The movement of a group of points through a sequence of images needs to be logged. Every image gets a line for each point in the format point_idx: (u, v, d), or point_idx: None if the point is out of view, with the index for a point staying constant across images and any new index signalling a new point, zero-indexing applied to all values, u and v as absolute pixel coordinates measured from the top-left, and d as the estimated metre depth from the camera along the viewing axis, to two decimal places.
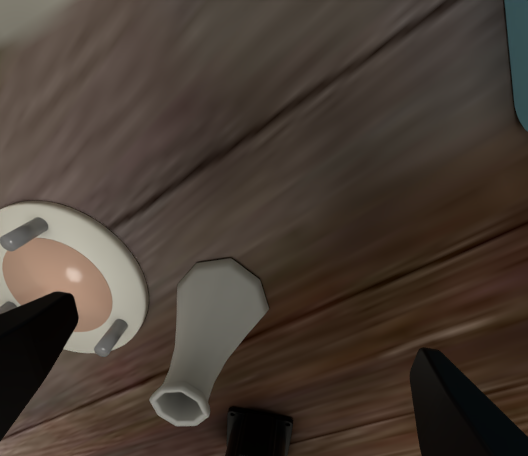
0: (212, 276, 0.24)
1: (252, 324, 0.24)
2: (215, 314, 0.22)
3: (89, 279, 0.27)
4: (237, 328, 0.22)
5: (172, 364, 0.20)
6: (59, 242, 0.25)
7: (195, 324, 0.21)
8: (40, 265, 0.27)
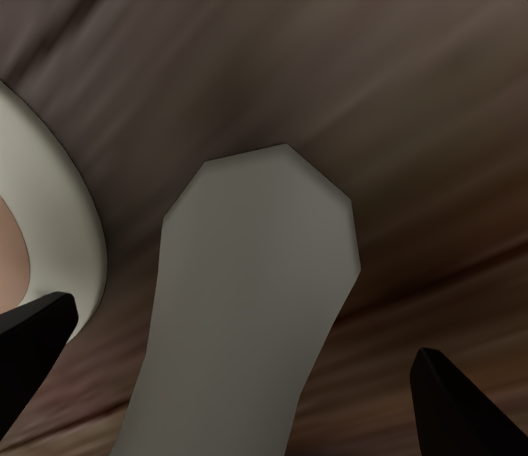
0: (245, 179, 0.10)
1: (341, 298, 0.10)
2: (264, 261, 0.08)
3: None
4: (318, 303, 0.08)
5: (129, 417, 0.06)
6: None
7: (208, 286, 0.07)
8: None
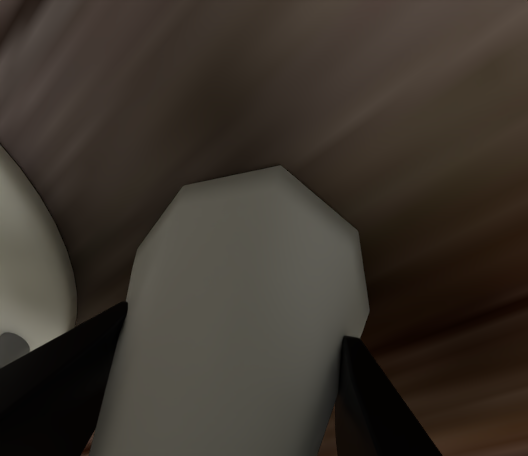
0: (230, 211, 0.08)
1: None
2: (247, 332, 0.06)
3: None
4: (319, 379, 0.06)
5: None
6: None
7: (170, 372, 0.05)
8: None
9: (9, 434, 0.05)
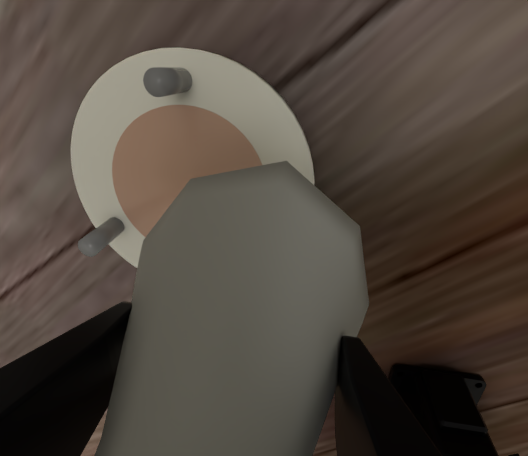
0: (237, 203, 0.08)
1: None
2: (256, 318, 0.06)
3: None
4: (322, 365, 0.07)
5: None
6: (203, 110, 0.18)
7: (182, 353, 0.05)
8: (169, 152, 0.19)
9: (9, 434, 0.05)
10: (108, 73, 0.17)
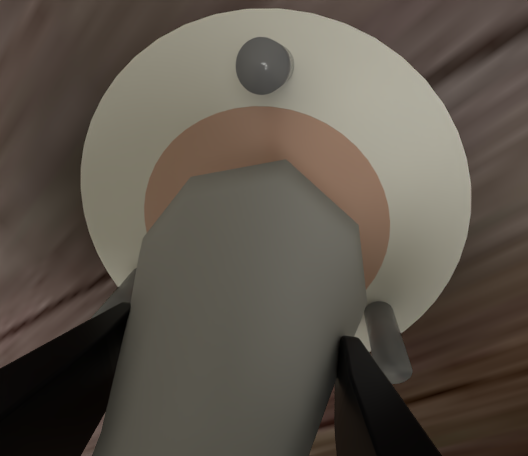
0: (237, 201, 0.08)
1: None
2: (255, 314, 0.06)
3: (347, 211, 0.12)
4: (320, 361, 0.07)
5: None
6: (305, 117, 0.11)
7: (183, 348, 0.06)
8: None
9: (10, 434, 0.05)
10: (150, 50, 0.10)
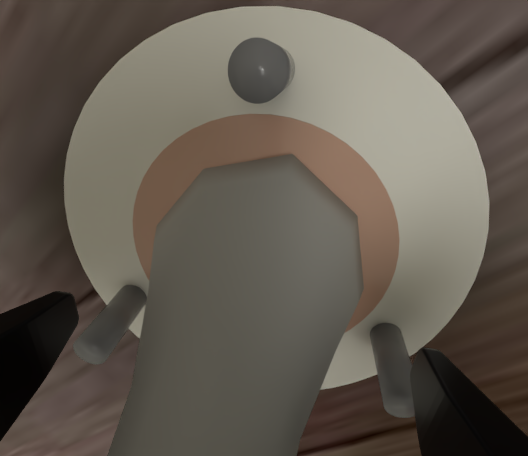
0: (248, 191, 0.09)
1: (344, 322, 0.09)
2: (266, 287, 0.07)
3: None
4: (322, 333, 0.08)
5: None
6: (307, 126, 0.10)
7: (204, 314, 0.06)
8: None
9: None
10: (136, 52, 0.10)
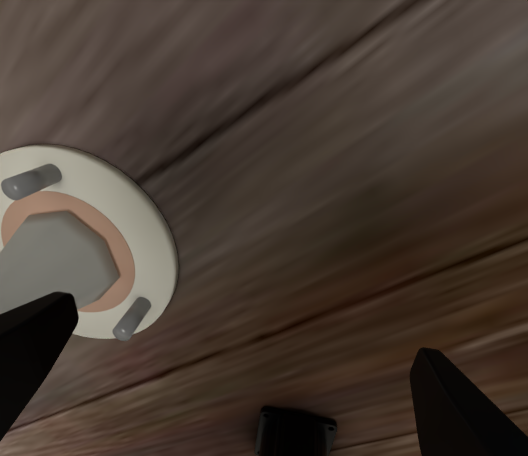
0: (36, 229, 0.20)
1: (83, 291, 0.20)
2: (16, 272, 0.18)
3: (108, 246, 0.22)
4: (49, 292, 0.18)
5: None
6: (73, 198, 0.20)
7: None
8: None
9: None
10: None
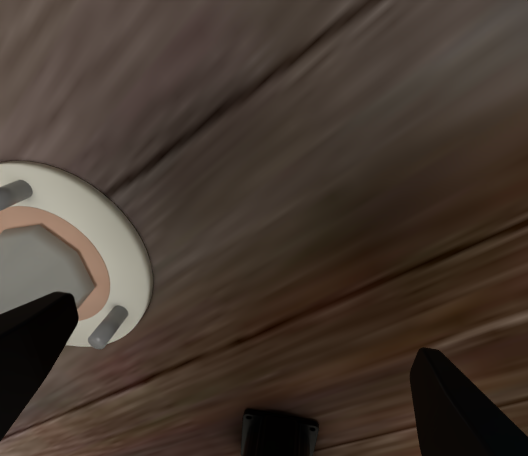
0: (9, 244, 0.20)
1: None
2: None
3: (82, 257, 0.22)
4: (21, 304, 0.19)
5: None
6: (45, 212, 0.21)
7: None
8: None
9: None
10: None
